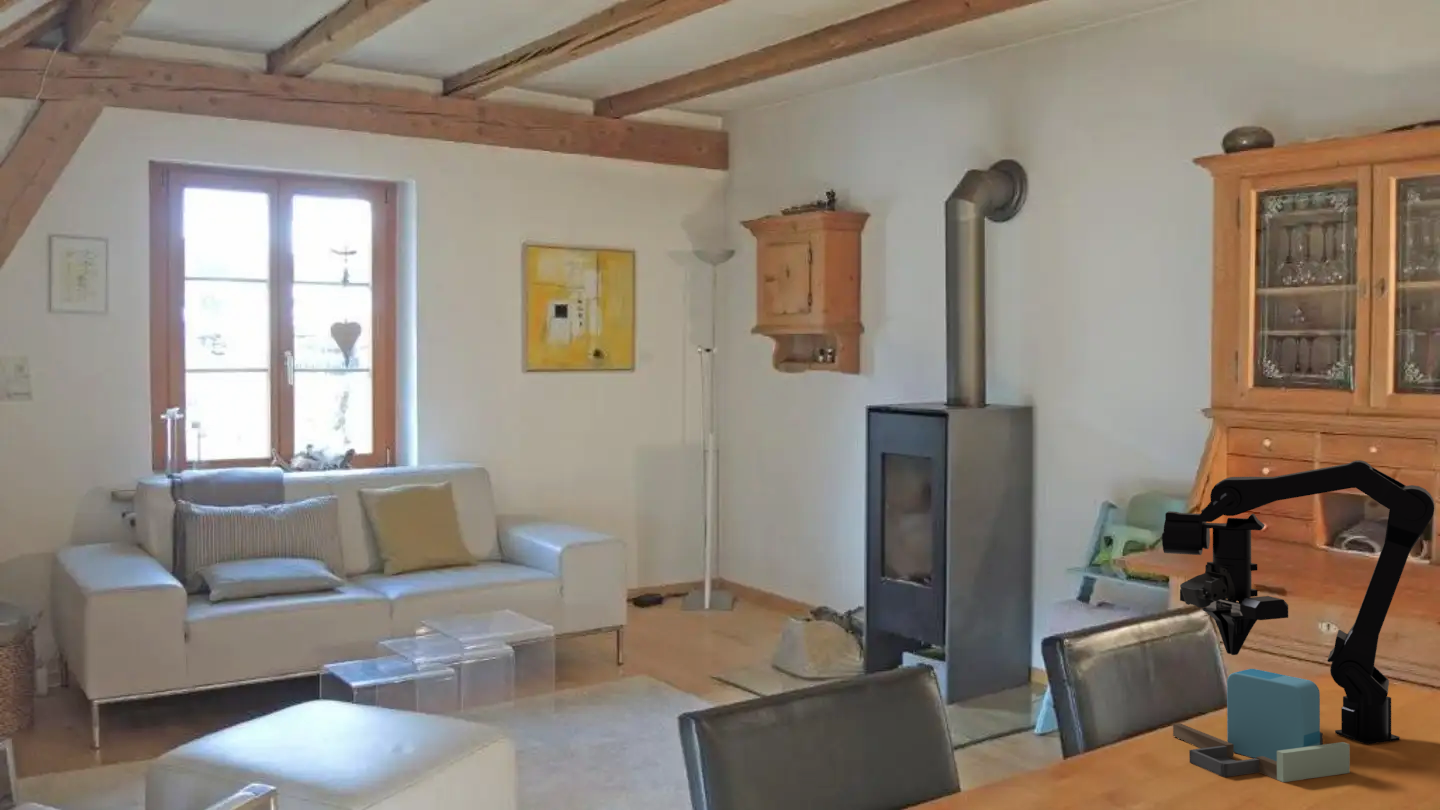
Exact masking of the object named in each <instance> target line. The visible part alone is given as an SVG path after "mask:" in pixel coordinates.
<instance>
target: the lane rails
mask: <svg viewBox="0 0 1440 810" xmlns="http://www.w3.org/2000/svg"><path fill="white" fill-rule="evenodd" d="M1173 736H1175V737H1177V738H1179V739H1178V740H1180V739H1181V740H1180V741H1182V740H1184V741H1183V742H1185V741H1186V742H1185V743H1187V742H1188V743H1187V744H1190V743H1191V744H1190V745H1192V744H1193V745H1192V746H1194V745H1195V746H1194V747H1197V748H1199V747H1200V748H1208V747H1216V746H1226V747H1227V757H1228V758H1231V759H1234V757H1235V756H1234V754H1235V752H1234V744H1231V743H1229V742H1228V741H1225V740H1224V739H1221V738H1219V737H1216V736H1213V735H1211V734H1208V733H1206V732H1204V731H1201V730H1198V729H1196V728H1193V727H1191V726H1188V725H1185V724H1183V723H1180V722H1178V723H1177V722H1176V723H1172V737H1173ZM1175 737H1174V738H1175ZM1177 738H1176V739H1177ZM1200 748H1199V749H1200ZM1256 759H1259V772H1258V773H1259V774H1263V775H1265V776H1267V777H1270V778H1272V779H1275V780H1277V761H1274V760H1272V759H1269V758H1267V757H1264V756H1260V757H1256Z"/></svg>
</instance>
